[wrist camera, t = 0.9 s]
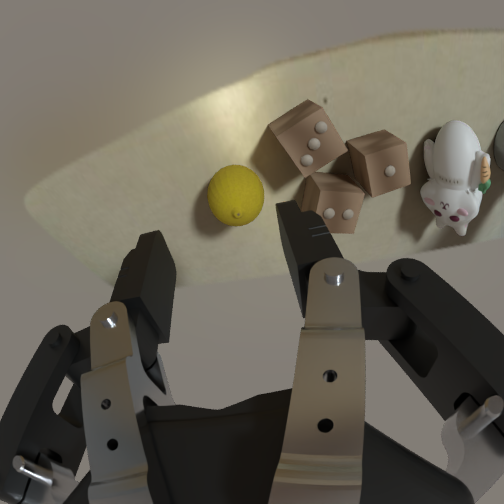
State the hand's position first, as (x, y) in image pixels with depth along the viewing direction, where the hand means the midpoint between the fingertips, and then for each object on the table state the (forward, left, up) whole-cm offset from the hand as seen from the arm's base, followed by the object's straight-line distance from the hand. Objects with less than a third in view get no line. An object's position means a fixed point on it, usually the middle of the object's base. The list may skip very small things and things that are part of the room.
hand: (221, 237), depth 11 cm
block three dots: (-8, +3, -21) cm, 23 cm away
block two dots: (-10, +11, -21) cm, 26 cm away
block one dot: (-16, +7, -21) cm, 28 cm away
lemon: (0, +7, -22) cm, 23 cm away
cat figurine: (-27, +10, -22) cm, 36 cm away
